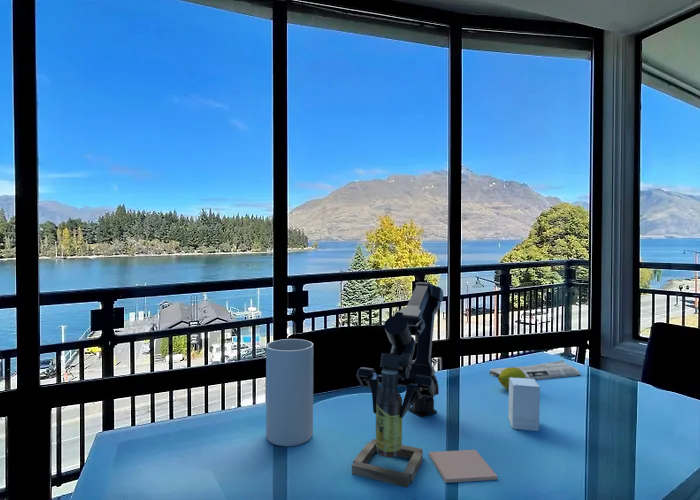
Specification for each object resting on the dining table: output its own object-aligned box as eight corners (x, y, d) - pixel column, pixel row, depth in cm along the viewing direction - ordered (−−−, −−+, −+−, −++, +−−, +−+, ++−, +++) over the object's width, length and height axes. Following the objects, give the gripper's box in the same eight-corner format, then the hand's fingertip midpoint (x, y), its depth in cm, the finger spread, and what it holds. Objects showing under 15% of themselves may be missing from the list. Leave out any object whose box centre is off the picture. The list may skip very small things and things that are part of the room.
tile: (429, 455, 107) (429, 452, 107) (475, 452, 109) (475, 449, 109) (445, 482, 95) (445, 479, 95) (497, 479, 97) (497, 476, 97)
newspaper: (505, 384, 160) (505, 374, 160) (486, 373, 172) (486, 364, 172) (583, 376, 170) (583, 367, 169) (560, 367, 182) (560, 359, 181)
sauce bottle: (373, 446, 105) (374, 366, 105) (399, 445, 106) (399, 365, 105) (377, 460, 99) (378, 374, 98) (404, 459, 99) (405, 374, 99)
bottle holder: (371, 446, 112) (371, 438, 111) (424, 457, 106) (424, 449, 106) (349, 473, 99) (349, 464, 99) (409, 488, 93) (409, 478, 93)
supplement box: (539, 431, 121) (540, 387, 120) (511, 428, 122) (512, 384, 122) (533, 420, 128) (534, 378, 127) (507, 418, 129) (508, 376, 129)
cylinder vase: (320, 430, 120) (320, 341, 119) (300, 451, 109) (301, 353, 108) (280, 423, 124) (280, 337, 124) (257, 443, 113) (257, 348, 112)
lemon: (519, 385, 158) (520, 363, 158) (532, 393, 150) (532, 370, 150) (492, 386, 156) (492, 365, 156) (503, 394, 148) (503, 371, 148)
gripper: (359, 335, 108) (341, 393, 99) (433, 343, 101) (421, 406, 92) (369, 357, 116) (354, 413, 106) (439, 366, 109) (429, 427, 99)
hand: (387, 415), depth 101 cm, fingers closed on sauce bottle, 6 cm apart
